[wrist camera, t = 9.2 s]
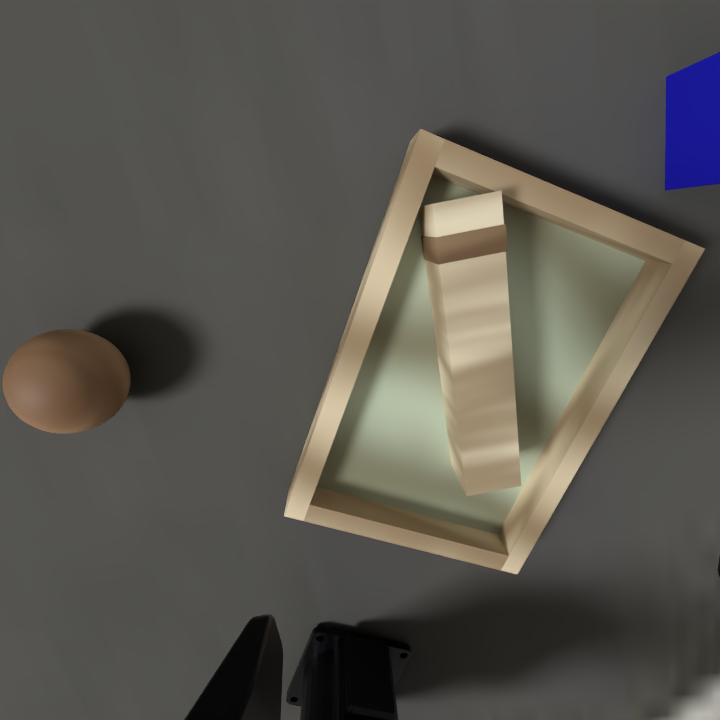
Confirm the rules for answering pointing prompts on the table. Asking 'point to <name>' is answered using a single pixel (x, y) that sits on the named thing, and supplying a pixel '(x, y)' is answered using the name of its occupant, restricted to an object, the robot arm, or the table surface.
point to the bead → (66, 381)
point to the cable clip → (693, 125)
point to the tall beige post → (473, 337)
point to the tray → (530, 362)
